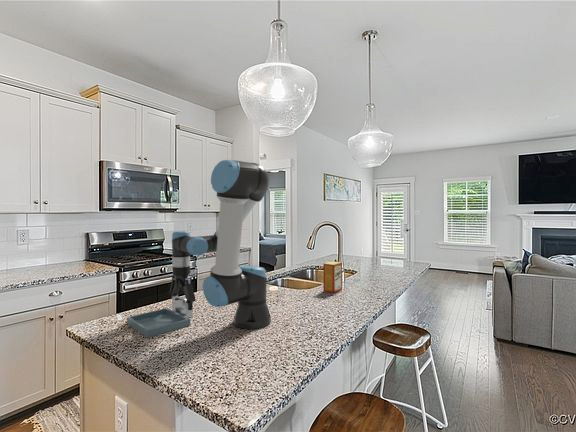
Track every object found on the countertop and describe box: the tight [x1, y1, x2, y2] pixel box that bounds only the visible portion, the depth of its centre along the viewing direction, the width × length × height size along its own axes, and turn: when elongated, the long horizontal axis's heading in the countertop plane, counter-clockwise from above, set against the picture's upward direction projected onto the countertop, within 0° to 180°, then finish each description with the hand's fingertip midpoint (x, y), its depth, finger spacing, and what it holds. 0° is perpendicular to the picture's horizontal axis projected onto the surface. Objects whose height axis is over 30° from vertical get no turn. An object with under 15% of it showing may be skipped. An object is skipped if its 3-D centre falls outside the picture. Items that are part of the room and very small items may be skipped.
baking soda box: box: [322, 261, 343, 294], centre depth 183 cm, size 10×6×16 cm
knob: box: [174, 296, 187, 317], centre depth 144 cm, size 6×6×7 cm
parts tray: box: [126, 307, 191, 339], centre depth 132 cm, size 21×17×3 cm
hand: (182, 313), depth 144 cm, fingers open, 12 cm apart
